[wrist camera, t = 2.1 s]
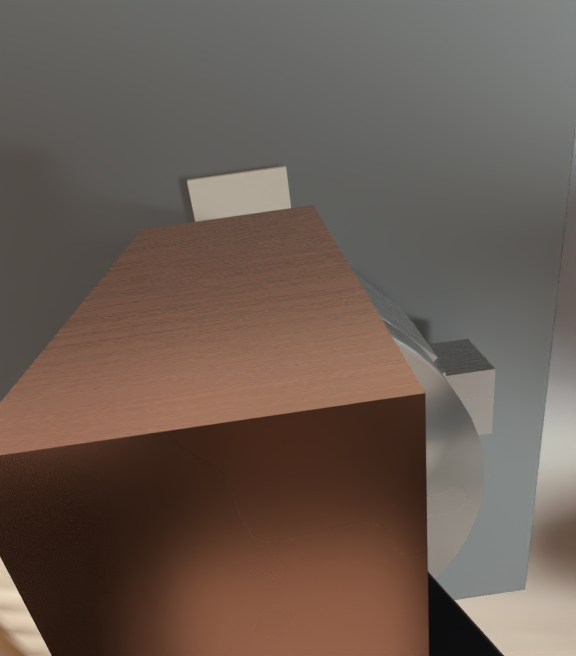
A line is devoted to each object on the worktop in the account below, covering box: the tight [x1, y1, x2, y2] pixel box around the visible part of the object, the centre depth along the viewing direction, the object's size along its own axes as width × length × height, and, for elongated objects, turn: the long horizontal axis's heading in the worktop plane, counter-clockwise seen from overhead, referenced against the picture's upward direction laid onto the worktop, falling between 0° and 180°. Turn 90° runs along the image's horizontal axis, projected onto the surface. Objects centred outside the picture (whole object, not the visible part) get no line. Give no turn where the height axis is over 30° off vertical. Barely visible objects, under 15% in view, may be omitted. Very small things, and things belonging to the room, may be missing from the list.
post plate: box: [0, 0, 576, 600], centre depth 12 cm, size 14×18×4 cm
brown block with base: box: [0, 205, 495, 656], centre depth 8 cm, size 9×10×8 cm
